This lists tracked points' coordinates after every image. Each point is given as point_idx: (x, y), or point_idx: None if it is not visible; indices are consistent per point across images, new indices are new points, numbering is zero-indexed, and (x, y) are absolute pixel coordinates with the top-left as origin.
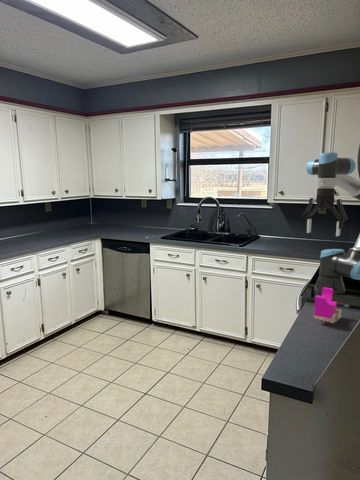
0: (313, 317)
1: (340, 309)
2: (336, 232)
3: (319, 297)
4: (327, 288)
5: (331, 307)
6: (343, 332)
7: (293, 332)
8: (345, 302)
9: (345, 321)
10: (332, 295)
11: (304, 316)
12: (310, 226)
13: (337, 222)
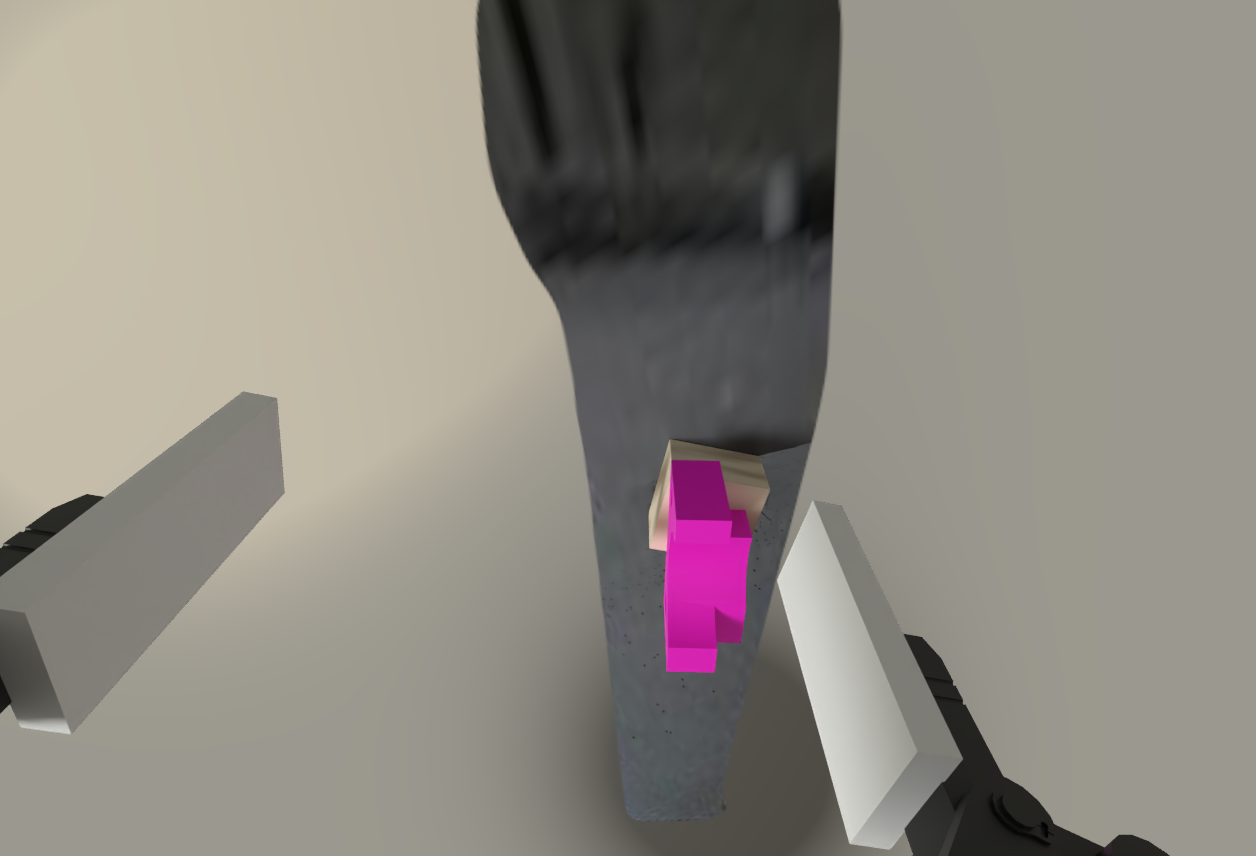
0: (649, 523)
1: (765, 490)
2: (796, 627)
3: (686, 668)
4: (701, 532)
5: (739, 642)
6: (776, 554)
7: (609, 628)
8: (772, 137)
9: (780, 449)
10: (726, 497)
11: (601, 482)
12: (200, 499)
13: (857, 824)
